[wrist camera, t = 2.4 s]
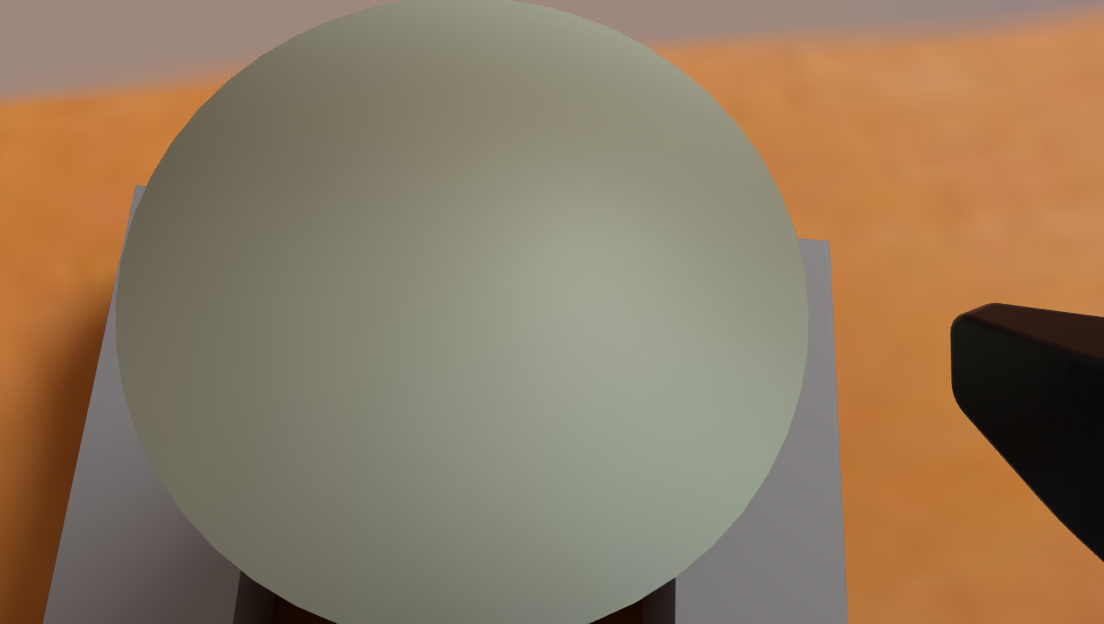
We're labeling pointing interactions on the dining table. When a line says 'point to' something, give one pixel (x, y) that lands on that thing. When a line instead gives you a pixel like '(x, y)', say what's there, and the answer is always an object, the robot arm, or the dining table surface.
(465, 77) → the peg
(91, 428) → the pocket board
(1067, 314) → the robot arm
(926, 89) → the dining table surface
